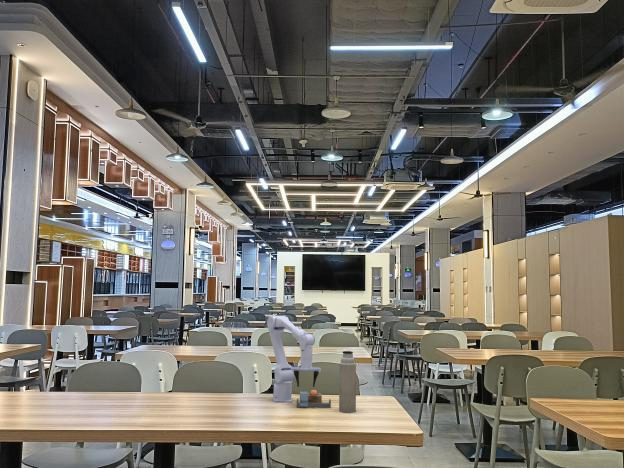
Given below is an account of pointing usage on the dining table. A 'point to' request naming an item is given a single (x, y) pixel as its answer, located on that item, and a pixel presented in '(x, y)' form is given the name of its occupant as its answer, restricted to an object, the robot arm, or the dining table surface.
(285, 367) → the robot arm
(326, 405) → the rail
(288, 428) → the dining table surface
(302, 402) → the block
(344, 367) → the thermos bottle
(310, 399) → the square wooden frame
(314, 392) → the gauge button
